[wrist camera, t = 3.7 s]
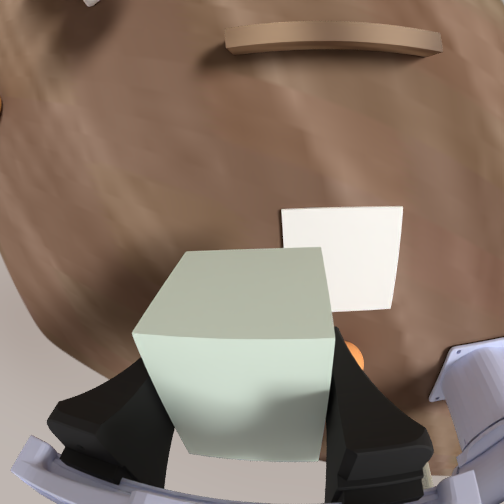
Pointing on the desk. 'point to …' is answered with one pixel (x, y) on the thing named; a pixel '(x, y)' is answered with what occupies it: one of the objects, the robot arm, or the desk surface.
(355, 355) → the ball
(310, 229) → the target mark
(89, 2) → the white crawling baby figure
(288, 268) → the pale green block
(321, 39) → the stopper
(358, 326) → the desk surface
